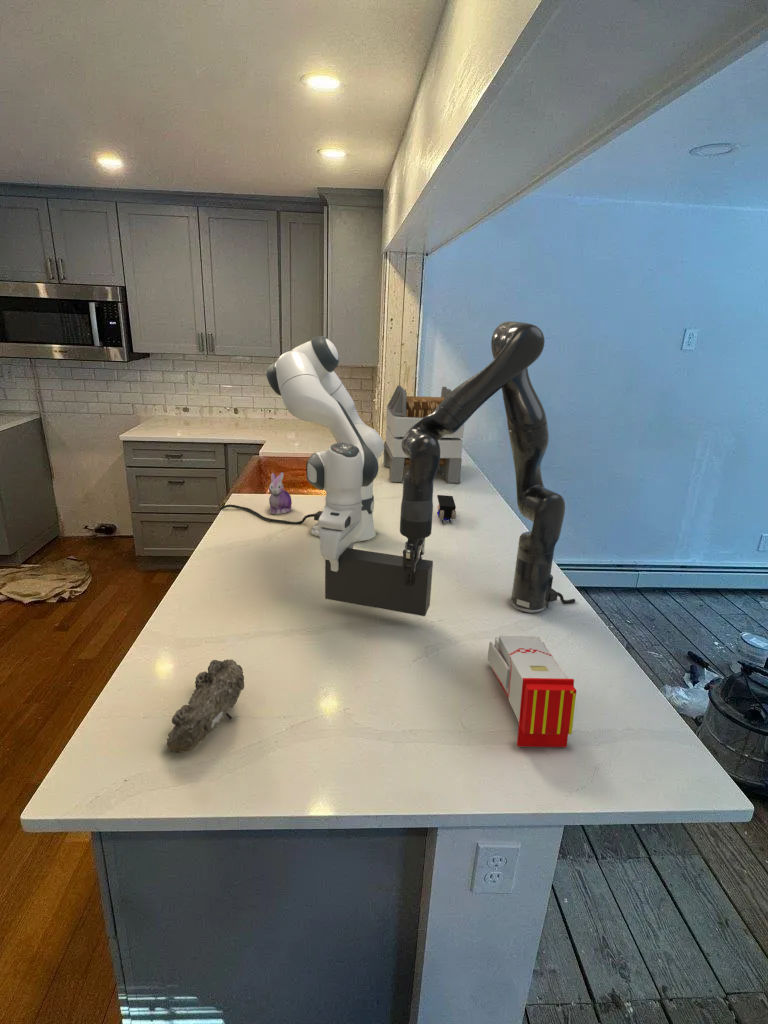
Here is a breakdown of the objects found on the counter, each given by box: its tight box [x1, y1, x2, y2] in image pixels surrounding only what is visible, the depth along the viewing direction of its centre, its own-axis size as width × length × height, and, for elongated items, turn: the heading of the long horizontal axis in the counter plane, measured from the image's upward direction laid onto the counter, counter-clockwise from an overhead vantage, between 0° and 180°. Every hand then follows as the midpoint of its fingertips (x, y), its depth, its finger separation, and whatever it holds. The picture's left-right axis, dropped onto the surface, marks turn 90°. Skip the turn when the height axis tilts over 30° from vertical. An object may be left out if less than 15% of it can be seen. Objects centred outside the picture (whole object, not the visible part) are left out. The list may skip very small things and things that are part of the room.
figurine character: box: [436, 494, 457, 524], centre depth 215 cm, size 7×8×15 cm
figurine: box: [268, 471, 293, 515], centre depth 214 cm, size 9×10×15 cm
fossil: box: [166, 658, 245, 754], centre depth 106 cm, size 22×10×15 cm
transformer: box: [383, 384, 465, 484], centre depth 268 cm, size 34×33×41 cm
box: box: [324, 548, 434, 617], centre depth 142 cm, size 26×6×12 cm, turn 74°
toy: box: [486, 635, 577, 748], centre depth 115 cm, size 12×13×30 cm
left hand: (342, 562), depth 143 cm, fingers open, 8 cm apart
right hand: (412, 579), depth 139 cm, fingers closed on box, 5 cm apart
